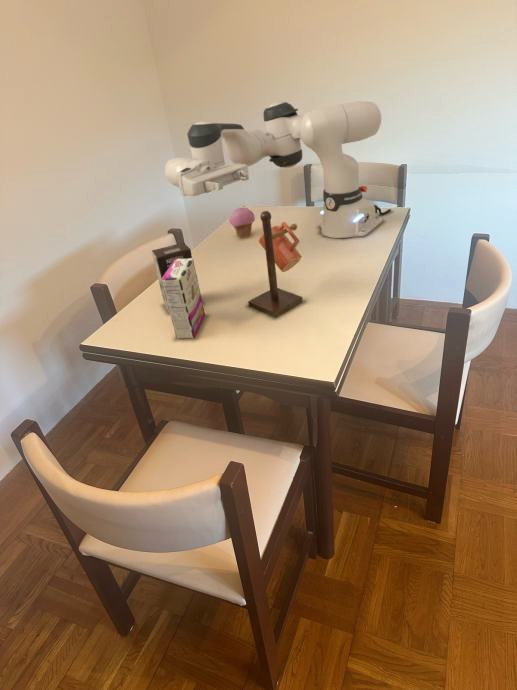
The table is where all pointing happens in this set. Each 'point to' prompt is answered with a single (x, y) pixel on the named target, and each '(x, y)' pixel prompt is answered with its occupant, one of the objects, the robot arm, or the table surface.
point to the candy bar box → (183, 298)
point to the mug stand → (273, 277)
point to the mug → (284, 248)
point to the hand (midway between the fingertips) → (233, 181)
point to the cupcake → (242, 221)
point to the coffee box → (168, 261)
